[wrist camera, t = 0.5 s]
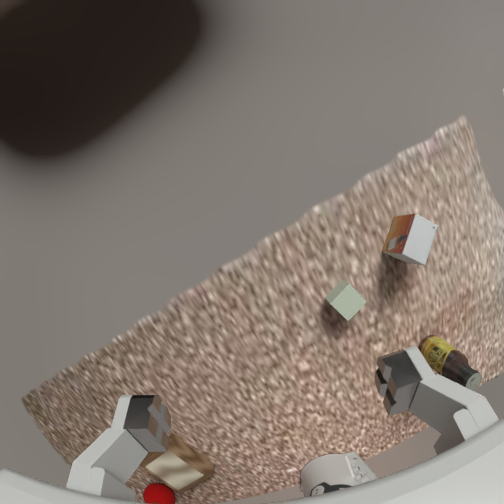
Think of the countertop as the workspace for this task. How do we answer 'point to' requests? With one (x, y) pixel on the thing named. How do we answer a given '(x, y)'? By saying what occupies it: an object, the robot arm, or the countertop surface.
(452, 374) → the sauce bottle
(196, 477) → the base
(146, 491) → the fruit
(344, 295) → the block
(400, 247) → the small box
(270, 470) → the countertop surface
